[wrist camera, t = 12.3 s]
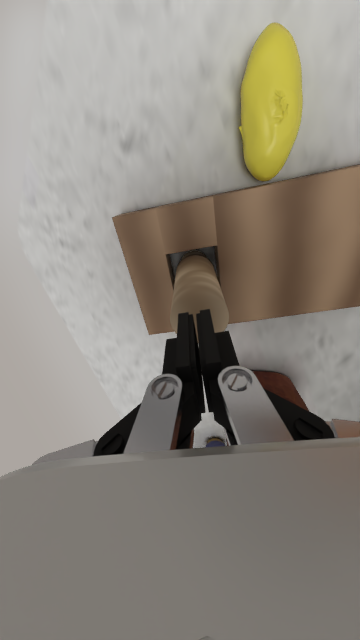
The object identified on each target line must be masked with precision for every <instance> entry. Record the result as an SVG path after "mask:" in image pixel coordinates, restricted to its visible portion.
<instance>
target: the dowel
mask: <svg viewBox="0 0 360 640" xmlns="http://www.w3.org/2000/svg"><path fill="white" fill-rule="evenodd" d="M205 309H210V312H211V317H212V322H213V327H214V332H215V333H217V332H224V330H225V329H226V327H227V325H228V322H229V312H228V309H227V306H226V303H225V300H224V297H223V294H222V291H221V288H220V285H219V282H218V279H217V276H216V273H215V270H214V267H213V264H212V263H211V261H210V260H209V259H208V258H207V257H206V255H205V254H204V253H202V252H200V251H196V250H194V251H189V252H187V253H186V254H185V255H184V256H183V257H182V259H181V261H180V262H179V264H178V266H177V270H176V277H175V284H174V292H173V299H172V306H171V314H170V323H171V326H172V328H173V330H174V331H175V333H176V334H177V326H178V314H179V313H185V312H189V315H190V314H193V318H194V324H195V329H196V335H197V341H198V332H197V320H196V314H197V313H200V310H205Z"/></svg>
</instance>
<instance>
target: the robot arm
mask: <svg viewBox="0 0 360 640" xmlns="http://www.w3.org/2000/svg"><path fill="white" fill-rule="evenodd" d="M196 320H197V332H198V341H197V335H196V329H195V324H194V318H193V314H190V315H189V312H185V313H179V314H178V326H177V338H172V339H167V340H166V347H165V356H164V364H163V372H162V375H160V376H157V377H156V378H154V379H153V380H152V381H151V382H150V383H149V385H148V387H147V389H146V392H145V395H144V398H143V400H142V403H141V404H139V405H138V406H137V407H136V408H135V409H133V410H132V411H131V412H130V413H129V414H128V415H126V416H125V417H124V418H123V419H122V420H120V421H119V422H118V423H117V424H116V425H115V426H113V427H112V428H111V429H110V430H109V431H107V432H106V433H105V434H104V435H103V436H102V437H101V438H100V439H99V441H96V442H95V441H94V440H90V441H87V442H84V443H81V444H77V445H74V446H71V447H68V448H65V449H62V450H59V451H56V452H53V453H49V454H47V455H45V456H42V457H40V458H39V459H38V460H37V461H35V462H34V463H33V464H32V465H31V466H28V467H25V468H22V469H19V470H16V471H13V472H10V473H8V474H6V475H4V476H1V477H0V640H360V422H356V421H347V420H338V419H332V421H331V422H329V421H324V420H323V419H321V418H320V417H318V416H317V415H315V414H313V413H311V412H309V411H307V410H305V409H303V408H301V407H299V406H298V405H296V404H294V403H292V402H290V401H288V400H286V399H284V398H282V397H280V396H278V395H276V394H274V393H272V392H270V391H268V390H267V389H265V388H263V387H262V386H261V384H260V382H259V381H258V379H257V377H256V376H255V374H254V373H253V372H252V371H251V370H249V369H248V368H245V367H242V366H239V363H238V360H237V357H236V353H235V350H234V347H233V344H232V340H231V337H230V334H229V331H224V332H217V333H215V332H214V327H213V322H212V317H211V312H210V309H205V310H200V313H197V314H196ZM198 343H199V347H198ZM201 370H202V371H201ZM202 376H203V381H202ZM203 382H204V387H205V393H206V398H207V404H208V410H209V412H213V413H214V419H215V421H216V422H218V423H219V424H220V425H222V426H223V427H224V431H225V435H226V438H227V441H228V444H229V446H218V447H205V448H193V439H194V428H195V427H196V425H197V424H198V423H199V422H200V421H202V420H201V413H205V403H204V392H203Z"/></svg>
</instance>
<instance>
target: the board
mask: <svg viewBox="0 0 360 640" xmlns="http://www.w3.org/2000/svg"><path fill="white" fill-rule="evenodd" d="M112 219H113V222H114V226H115V229H116V232H117V235H118V238H119V241H120V245H121V248H122V251H123V254H124V257H125V260H126V263H127V267H128V270H129V273H130V276H131V279H132V282H133V286H134V289H135V292H136V295H137V298H138V301H139V304H140V308H141V311H142V314H143V317H144V320H145V323H146V327H147V330H148V333H149V335H152V334H159V333H166V332H174V330H173V328H172V326H171V323H170V314H171V306H172V299H173V292H174V284H175V278H174V274H173V269H172V264H171V259H170V254H172V253H177V252H183V251H188V250H194V249H199V248H205V247H210V246H214V249H215V259H216V270H217V279H218V282H219V285H220V288H221V291H222V294H223V297H224V300H225V303H226V306H227V309H228V312H229V322H228V324H232V323H240V322H247V321H254V320H262V319H269V318H276V317H284V316H291V315H298V314H306V313H313V312H320V311H328V310H335V309H342V308H349V307H357V306H360V164H359V165H354V166H350V167H345V168H340V169H335V170H330V171H326V172H321V173H316V174H311V175H306V176H302V177H297V178H292V179H287V180H282V181H278V182H273V183H268V184H263V185H258V186H254V187H249V188H244V189H239V190H234V191H230V192H225V193H220V194H215V195H210V196H206V197H201V198H196V199H191V200H186V201H182V202H177V203H172V204H167V205H162V206H158V207H153V208H148V209H143V210H138V211H134V212H129V213H124V214H120V215H118V216H115V217H112Z"/></svg>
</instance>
